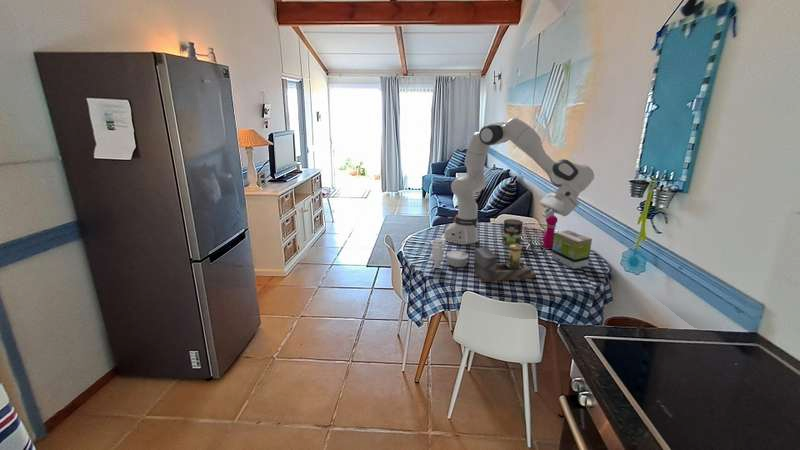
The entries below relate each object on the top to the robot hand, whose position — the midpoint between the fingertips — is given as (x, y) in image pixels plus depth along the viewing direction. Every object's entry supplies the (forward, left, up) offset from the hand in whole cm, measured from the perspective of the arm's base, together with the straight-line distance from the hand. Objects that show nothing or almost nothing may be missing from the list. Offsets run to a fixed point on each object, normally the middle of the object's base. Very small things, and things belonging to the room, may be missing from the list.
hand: (544, 216), depth 177 cm
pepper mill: (+4, +32, -26) cm, 42 cm away
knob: (-11, -13, -24) cm, 29 cm away
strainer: (-47, -18, -26) cm, 57 cm away
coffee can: (-16, +28, -26) cm, 41 cm away
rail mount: (-15, -15, -26) cm, 34 cm away
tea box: (+14, +12, -26) cm, 32 cm away
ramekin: (-39, -10, -26) cm, 48 cm away
